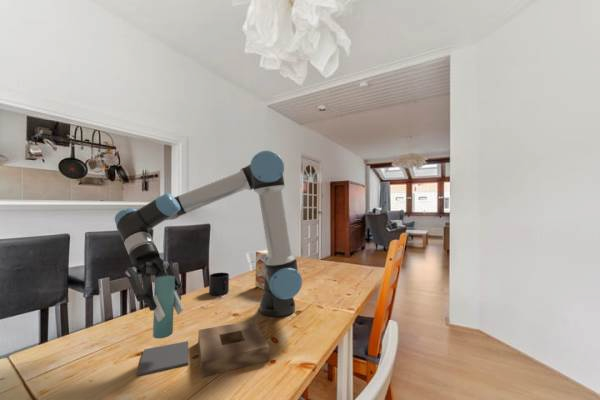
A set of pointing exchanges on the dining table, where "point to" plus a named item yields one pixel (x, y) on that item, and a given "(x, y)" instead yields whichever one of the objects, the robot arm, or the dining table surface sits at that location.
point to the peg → (164, 306)
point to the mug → (218, 284)
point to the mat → (163, 358)
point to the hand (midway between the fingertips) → (171, 314)
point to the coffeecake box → (260, 268)
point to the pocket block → (231, 347)
